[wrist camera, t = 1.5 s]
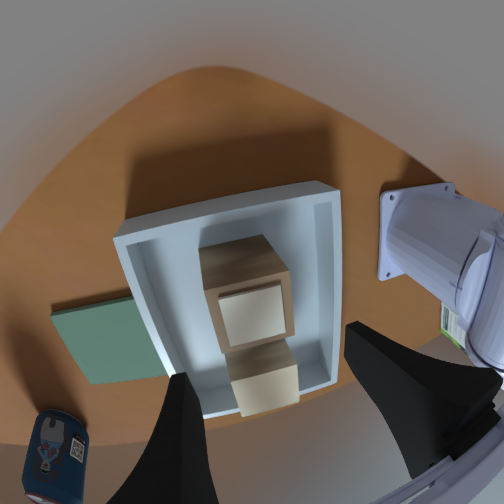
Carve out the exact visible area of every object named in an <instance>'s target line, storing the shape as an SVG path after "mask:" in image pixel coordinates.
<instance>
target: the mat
mask: <svg viewBox="0 0 504 504" xmlns="http://www.w3.org/2000/svg"><path fill="white" fill-rule="evenodd" d="M50 318H51V320H52V322H53V324H54V326H55V328H56V329H57V331H58V333H59V335H60V336H61V338H62V340H63V342H64V343H65V345H66V347H67V348H68V350H69V352H70V353H71V355H72V356H73V358H74V360H75V361H76V363H77V364H78V366H79V367H80V369H81V370H82V372H83V373H84V375H85V376H86V378H87V379H88V381H89V382H90V383H91V385H93V384H103V383H112V382H121V381H128V380H136V379H143V378H149V377H156V376H162V375H168V373H167V371H166V369H165V367H164V365H163V363H162V361H161V359H160V357H159V355H158V353H157V350H156V348H155V346H154V344H153V342H152V339H151V337H150V335H149V333H148V330H147V328H146V326H145V324H144V321H143V319H142V316H141V314H140V312H139V309H138V307H137V304H136V302H135V299H134V297H133V296H128V297H124V298H119V299H114V300H110V301H105V302H100V303H95V304H90V305H86V306H81V307H76V308H71V309H66V310H61V311H56V312H52V313H51V315H50Z"/></svg>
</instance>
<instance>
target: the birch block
mask: <svg viewBox="0 0 504 504" xmlns="http://www.w3.org/2000/svg"><path fill="white" fill-rule="evenodd" d="M224 355H225V360H226V364H227V369H228V373H229V378H230V382H231V385H232V388H233V391H234V394H235V397H236V400H237V403H238V406H239V409H240V412H241V415H242V417H245V416H249V415H253V414H257V413H261V412H265V411H269V410H272V409H276V408H279V407H283V406H286V405H290V404H293V403H296V402H299V386H298V369H297V363H296V361H295V359H294V357H293V355H292V353H291V351H290V349H289V347H288V344H287V342H286V340H285V338H283V339H280V340H276V341H273V342H269V343H265V344H261V345H257V346H253V347H249V348H245V349H241V350H237V351H233V352H229V353H224Z"/></svg>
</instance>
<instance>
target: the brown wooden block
mask: <svg viewBox="0 0 504 504" xmlns="http://www.w3.org/2000/svg"><path fill="white" fill-rule="evenodd" d="M198 252H199V260H200V268H201V275H202V283H203V290H204V294H205V298H206V301H207V305H208V309H209V312H210V316H211V319H212V323H213V326H214V330H215V333H216V337H217V340H218V343H219V347H220V350H221V353H222V354H224V353H229V352H233V351H237V350H241V349H245V348H249V347H253V346H257V345H261V344H265V343H269V342H273V341H276V340H280V339H283V338H287V337H290V336H294V335H295V327H294V315H293V303H292V291H291V280H290V270H289V269H288V268H287V266H286V265H285V263H284V262H283V261H282V259H281V258H280V257H279V255H278V254H277V253H276V251H275V250H274V249H273V247H272V246H271V245H270V243H269V242H268V241H267V239H266V238H265V237H264V235H263V234H261V235H256V236H252V237H247V238H243V239H238V240H234V241H229V242H225V243H220V244H216V245H211V246H207V247H202V248H198Z"/></svg>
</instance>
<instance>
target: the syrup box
mask: <svg viewBox="0 0 504 504" xmlns="http://www.w3.org/2000/svg"><path fill="white" fill-rule="evenodd" d="M441 305H442V311H441V332H442V333H443V334H445V335H446V336H447V337H448V338H449V339H450V340H452V342H454V343H455V344H456V345H457V346H458V347H459V348H460V349H461V350H462V351H463V352H464V353H466V354H467V351H466V348H465V335H466V332H465V331H464V330H463V329H461V328H460V327H459V326H458V325H457V322H458V314H457V313H456V312H455V311H453V310H452V309H451V308H450V307H449V306H447V305H446V304H445V303H444V302H442V301H441ZM467 355H468V354H467ZM501 388H502V389H503V390H504V379H503V384H502V386H501Z"/></svg>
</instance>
